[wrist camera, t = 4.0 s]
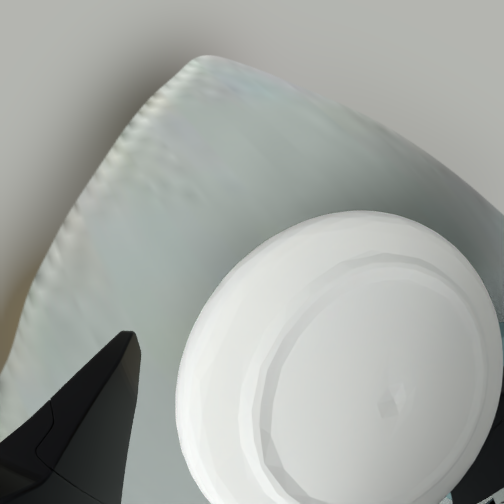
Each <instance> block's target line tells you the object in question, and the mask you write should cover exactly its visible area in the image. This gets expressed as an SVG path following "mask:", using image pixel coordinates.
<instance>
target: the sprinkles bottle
mask: <svg viewBox="0 0 504 504" xmlns="http://www.w3.org/2000/svg"><path fill="white" fill-rule="evenodd" d="M502 377H503V350H502V339H501V333H500V327H499V322H498V318H497V315H496V311H495V308H494V305H493V303H492V300H491V298H490V296H489V293H488V291H487V289H486V287H485V285H484V284H483V282H482V280H481V278H480V276H479V275H478V273H477V272H476V270H475V269H474V268H473V266H472V265H471V264H470V262H469V261H468V260H467V258H466V257H465V256H464V255H463V254H462V253H461V252H460V251H459V250H458V249H457V248H456V247H455V246H454V245H453V244H451V243H450V242H449V241H448V240H446V239H445V238H444V237H442V236H441V235H440V234H438V233H437V232H435V231H433V230H432V229H430V228H428V227H426V226H424V225H422V224H420V223H418V222H416V221H414V220H411V219H408V218H405V217H402V216H399V215H395V214H390V213H385V212H378V211H367V210H355V211H344V212H337V213H330V214H325V215H322V216H318V217H314V218H311V219H308V220H305V221H303V222H300V223H298V224H296V225H294V226H291V227H289V228H287V229H285V230H283V231H281V232H280V233H278V234H276V235H274V236H273V237H271V238H269V239H267V240H266V241H265V242H263V243H262V244H261V245H259V246H258V247H256V248H255V249H254V250H252V251H251V252H250V253H249V254H248V255H247V256H245V257H244V258H243V259H242V260H241V261H240V262H238V263H237V264H236V265H235V266H234V268H233V269H232V270H231V271H230V272H229V273H228V274H227V275H226V276H225V278H224V279H223V280H222V281H221V282H220V283H219V285H218V286H217V287H216V289H215V290H214V292H213V293H212V295H211V296H210V298H209V299H208V301H207V302H206V304H205V305H204V307H203V309H202V310H201V312H200V314H199V316H198V318H197V320H196V322H195V324H194V326H193V328H192V330H191V332H190V335H189V337H188V340H187V343H186V346H185V349H184V352H183V355H182V358H181V362H180V366H179V372H178V379H177V385H176V424H177V431H178V436H179V440H180V445H181V450H182V453H183V455H184V458H185V460H186V463H187V465H188V468H189V470H190V473H191V475H192V477H193V478H194V480H195V482H196V483H197V485H198V487H199V488H200V490H201V491H202V493H203V495H204V496H205V497H206V498H207V499H208V500H209V501H210V503H211V504H438V503H440V502H441V501H442V500H443V499H444V498H445V497H446V496H447V495H448V494H449V493H450V492H451V491H452V490H453V489H454V487H455V486H456V485H457V484H458V483H459V481H460V480H461V479H462V478H463V476H464V475H465V473H466V472H467V471H468V469H469V468H470V467H471V465H472V464H473V462H474V461H475V459H476V457H477V455H478V454H479V452H480V450H481V448H482V446H483V444H484V442H485V440H486V438H487V436H488V433H489V431H490V429H491V426H492V423H493V420H494V417H495V414H496V411H497V407H498V403H499V398H500V393H501V388H502Z"/></svg>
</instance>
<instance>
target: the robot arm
mask: <svg viewBox="0 0 504 504" xmlns="http://www.w3.org/2000/svg"><path fill="white" fill-rule="evenodd" d="M140 362H141V350H140V346H139V343H138V340H137V336H136V334H135V332H133V331H121V332H120V333H119V334H117V335H116V336H115V337H114V338H113V339H112V340H111V341H110V342H109V343H108V344H107V345H106V346H105V347H104V348H102V349H101V350H100V351H99V352H98V353H97V354H96V355H95V356H94V357H93V358H92V359H91V360H90V361H89V362H88V363H87V364H86V365H85V366H83V367H82V368H81V369H80V370H79V371H78V372H77V373H76V374H75V375H74V376H73V377H72V378H71V379H70V380H69V381H68V382H67V383H66V384H65V385H64V386H63V387H62V388H61V389H60V390H59V391H58V392H57V393H56V394H55V395H54V396H53V397H52V398H51V400H48V401H47V402H46V403H45V404H44V405H43V406H42V407H41V408H40V409H39V410H38V411H37V412H36V413H35V414H34V415H33V416H32V417H31V418H30V419H28V420H27V421H26V422H25V423H24V424H23V425H21V426H20V427H19V428H18V429H17V430H15V431H14V432H13V433H12V434H10V435H9V436H8V437H7V438H5V439H4V440H3V441H2V442H1V443H0V504H121V498H122V489H123V481H124V474H125V466H126V460H127V453H128V447H129V441H130V435H131V429H132V424H133V418H134V413H135V408H136V402H137V395H138V383H139V372H140ZM450 493H451V497H452V502H453V504H477V503H479V502H481V501H482V500H484V499H486V498H488V497H489V496H491V495H492V497H493V498H492V499H491V500H490V501H488V502H487V503H486V504H504V366H503V377H502V388H501V393H500V398H499V403H498V407H497V411H496V414H495V417H494V420H493V423H492V426H491V429H490V431H489V433H488V436H487V438H486V440H485V442H484V444H483V446H482V448H481V450H480V452H479V454H478V455H477V457H476V459H475V461H474V462H473V464H472V465H471V467H470V468H469V469H468V471H467V472H466V473H465V475H464V476H463V478H462V479H461V480H460V481H459V483H458V484H457V485H456V486H455V487H454V489H453V490H452V491H451V492H450Z"/></svg>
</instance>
